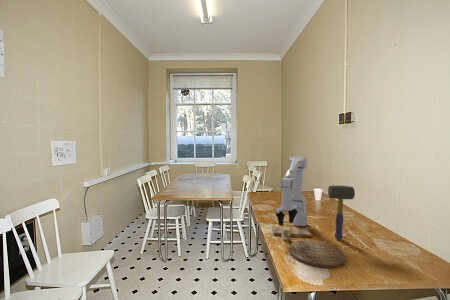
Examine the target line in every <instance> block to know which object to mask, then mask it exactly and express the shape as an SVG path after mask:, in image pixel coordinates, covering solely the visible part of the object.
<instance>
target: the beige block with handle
mask: <svg viewBox="0 0 450 300" xmlns="http://www.w3.org/2000/svg"><path fill="white" fill-rule="evenodd" d="M280 226H281V225H280ZM281 228H282V236H281V239H282V240H283V241H290V240H291V239H290V238H291V236H290V229H289V228H290V227H289V226H281Z"/></svg>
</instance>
